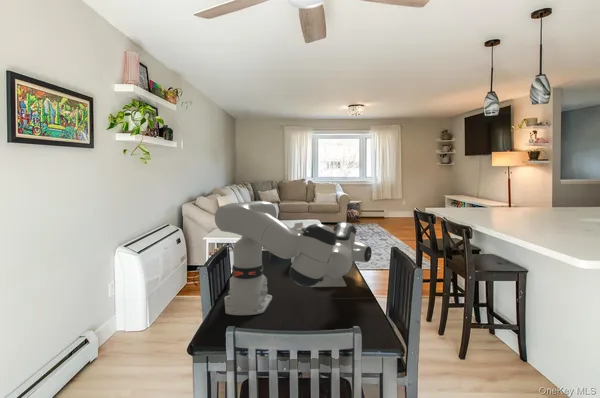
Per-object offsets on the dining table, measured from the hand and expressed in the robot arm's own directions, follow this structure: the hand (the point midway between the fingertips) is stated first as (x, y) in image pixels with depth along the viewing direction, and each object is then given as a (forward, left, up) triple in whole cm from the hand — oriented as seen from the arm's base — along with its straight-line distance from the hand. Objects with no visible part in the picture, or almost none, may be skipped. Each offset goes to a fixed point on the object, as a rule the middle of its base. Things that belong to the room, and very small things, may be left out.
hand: (322, 243), depth 181 cm
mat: (-18, 0, -13) cm, 22 cm away
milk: (+13, +12, -14) cm, 22 cm away
